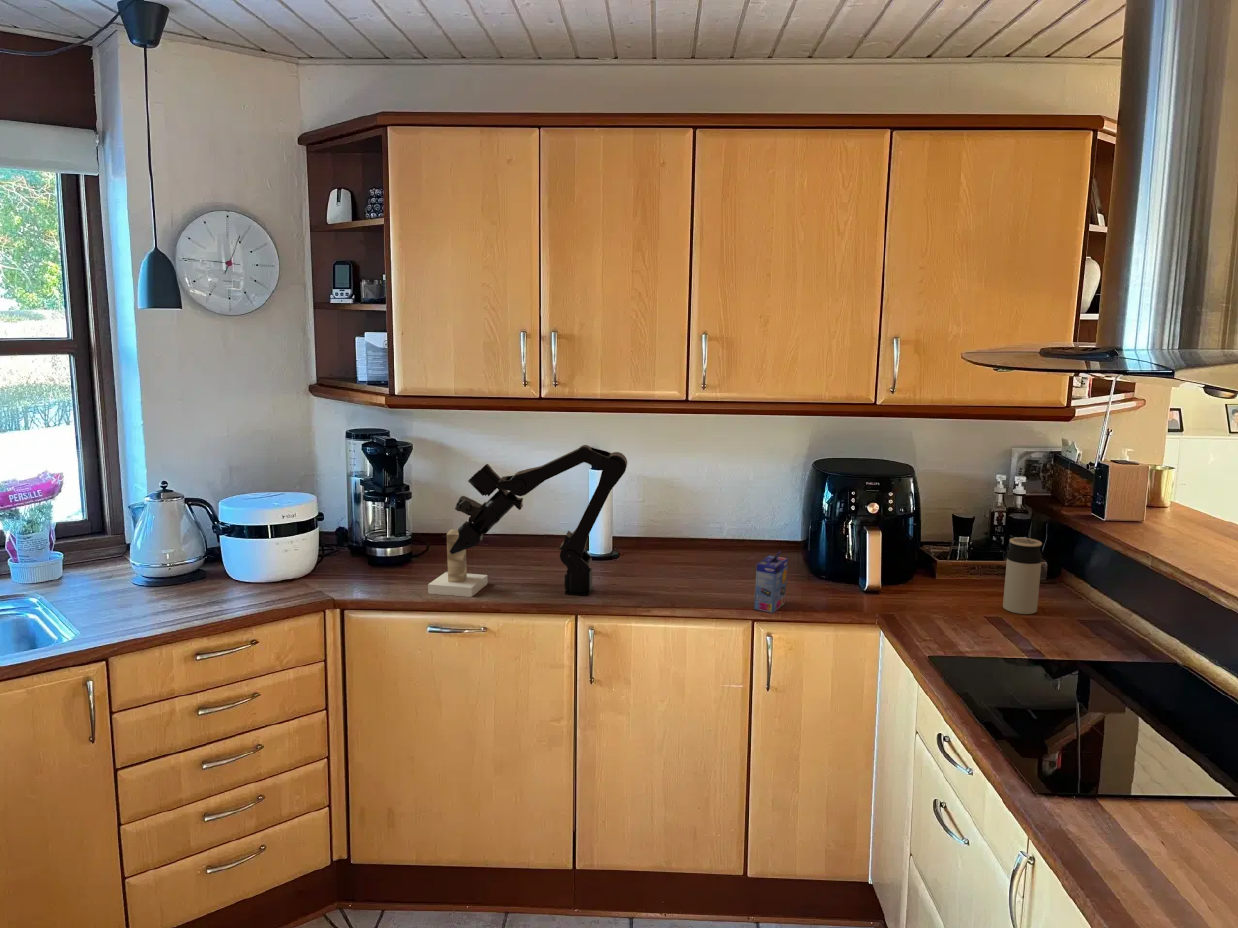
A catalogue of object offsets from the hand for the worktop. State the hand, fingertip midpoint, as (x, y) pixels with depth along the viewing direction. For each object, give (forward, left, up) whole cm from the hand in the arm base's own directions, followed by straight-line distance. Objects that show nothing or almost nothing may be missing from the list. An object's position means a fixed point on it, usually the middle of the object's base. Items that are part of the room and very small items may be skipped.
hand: (454, 548), depth 243 cm
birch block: (0, 0, -8) cm, 9 cm away
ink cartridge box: (-83, -5, -11) cm, 84 cm away
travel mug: (-145, -18, -11) cm, 146 cm away
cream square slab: (-1, 0, -12) cm, 12 cm away
